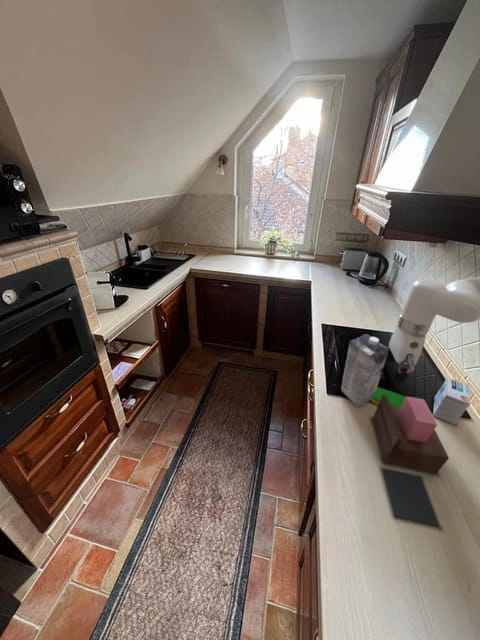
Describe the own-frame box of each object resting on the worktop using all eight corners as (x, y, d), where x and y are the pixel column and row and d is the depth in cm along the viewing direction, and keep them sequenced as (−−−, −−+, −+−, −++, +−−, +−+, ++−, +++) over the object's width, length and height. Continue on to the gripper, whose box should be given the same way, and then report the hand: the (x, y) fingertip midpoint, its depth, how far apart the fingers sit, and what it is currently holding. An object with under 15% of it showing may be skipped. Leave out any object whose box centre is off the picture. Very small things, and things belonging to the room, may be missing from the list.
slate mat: (420, 477, 72) (420, 476, 71) (439, 527, 62) (439, 526, 61) (382, 469, 73) (382, 468, 73) (394, 516, 63) (395, 515, 63)
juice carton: (357, 410, 91) (372, 355, 76) (337, 390, 99) (346, 336, 84) (376, 400, 94) (394, 345, 78) (354, 381, 102) (367, 328, 86)
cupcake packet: (414, 417, 80) (424, 399, 76) (425, 442, 72) (437, 424, 68) (396, 413, 80) (405, 396, 76) (406, 439, 73) (417, 420, 69)
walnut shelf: (415, 426, 86) (430, 402, 80) (436, 474, 72) (456, 449, 66) (371, 418, 88) (382, 394, 82) (384, 463, 75) (398, 438, 69)
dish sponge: (373, 390, 100) (374, 385, 99) (413, 404, 94) (415, 399, 93) (371, 402, 94) (373, 397, 93) (413, 418, 89) (416, 413, 88)
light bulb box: (434, 397, 97) (446, 376, 92) (455, 405, 94) (469, 384, 89) (432, 415, 90) (446, 394, 84) (455, 425, 87) (471, 404, 81)
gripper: (442, 344, 63) (416, 393, 71) (416, 311, 77) (397, 355, 86) (409, 339, 64) (387, 388, 73) (390, 308, 79) (373, 352, 87)
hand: (392, 370), depth 79 cm, fingers open, 9 cm apart
